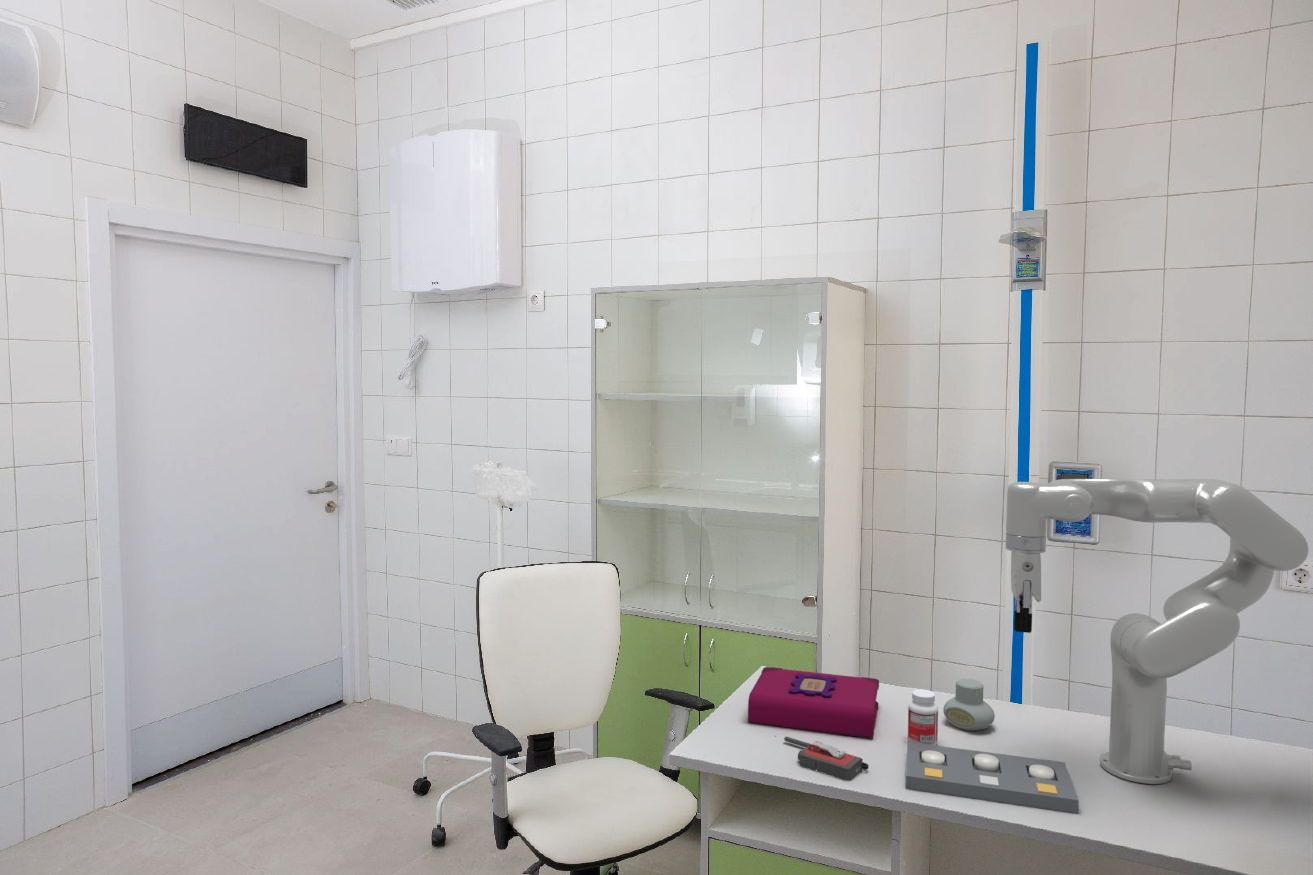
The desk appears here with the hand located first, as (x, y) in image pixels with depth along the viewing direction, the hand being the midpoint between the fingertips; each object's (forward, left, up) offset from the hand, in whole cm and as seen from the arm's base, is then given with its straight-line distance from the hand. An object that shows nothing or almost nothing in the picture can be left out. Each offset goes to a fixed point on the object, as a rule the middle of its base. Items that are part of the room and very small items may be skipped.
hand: (1022, 630), depth 171 cm
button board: (+7, +13, -27) cm, 31 cm away
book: (+43, -10, -28) cm, 52 cm away
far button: (+17, +11, -26) cm, 33 cm away
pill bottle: (+19, -2, -27) cm, 33 cm away
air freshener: (+9, -15, -27) cm, 33 cm away
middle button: (+7, +11, -25) cm, 28 cm away
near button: (-3, +11, -26) cm, 28 cm away
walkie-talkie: (+39, +14, -28) cm, 50 cm away
